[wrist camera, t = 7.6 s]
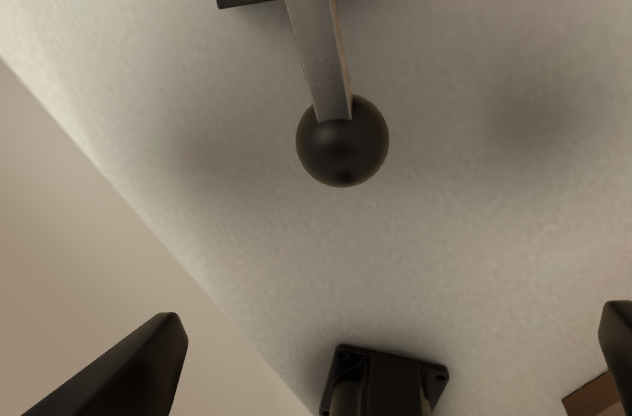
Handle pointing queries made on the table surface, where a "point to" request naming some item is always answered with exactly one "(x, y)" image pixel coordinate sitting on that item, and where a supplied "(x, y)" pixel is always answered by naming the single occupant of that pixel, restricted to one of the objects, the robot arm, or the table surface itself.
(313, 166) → the switch lever
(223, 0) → the switch bracket
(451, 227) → the table surface
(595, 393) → the button block
